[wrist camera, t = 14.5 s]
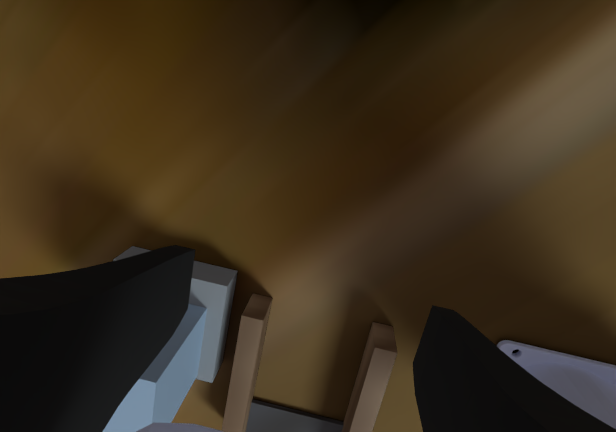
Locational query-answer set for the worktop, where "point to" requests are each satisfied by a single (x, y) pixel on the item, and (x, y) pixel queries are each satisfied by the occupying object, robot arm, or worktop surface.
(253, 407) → the channel
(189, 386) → the block
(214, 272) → the stand
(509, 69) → the worktop surface
